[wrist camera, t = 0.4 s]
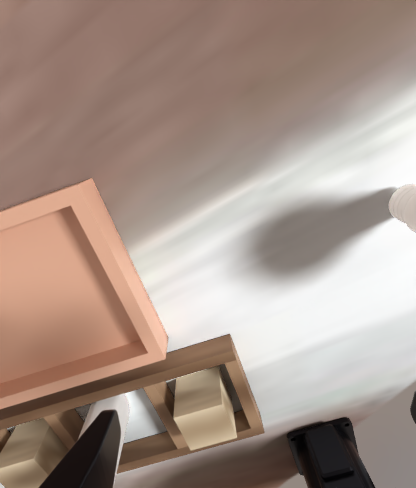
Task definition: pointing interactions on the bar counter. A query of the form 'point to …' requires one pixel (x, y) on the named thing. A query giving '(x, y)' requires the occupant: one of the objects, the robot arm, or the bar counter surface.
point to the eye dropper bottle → (116, 403)
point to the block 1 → (30, 455)
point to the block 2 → (204, 409)
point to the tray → (69, 297)
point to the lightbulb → (404, 205)
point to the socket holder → (153, 382)
